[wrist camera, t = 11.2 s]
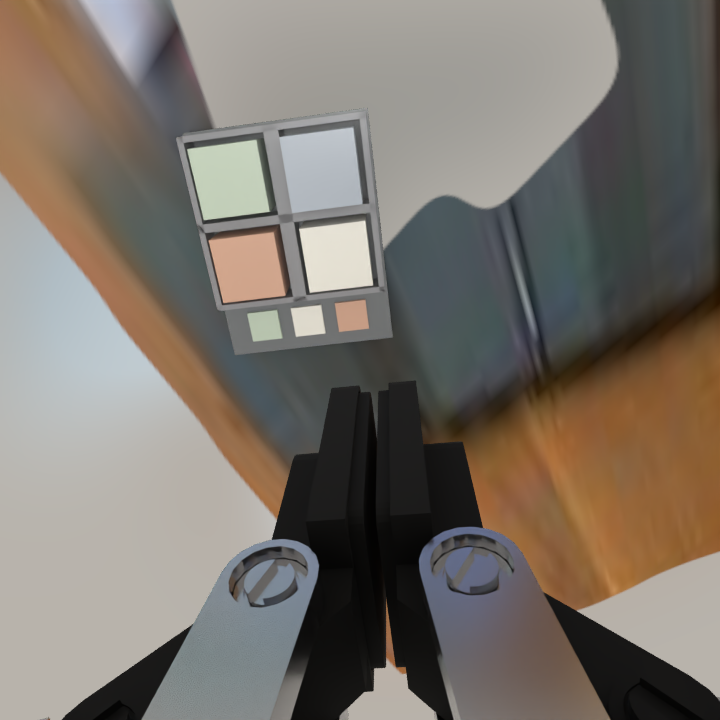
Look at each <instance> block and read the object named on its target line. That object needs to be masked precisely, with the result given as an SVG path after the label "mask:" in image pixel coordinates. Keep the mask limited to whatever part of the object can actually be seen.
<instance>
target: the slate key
mask: <svg viewBox="0 0 720 720" xmlns="http://www.w3.org/2000/svg"><path fill="white" fill-rule="evenodd" d="M279 139H280V145H281V151H282V157H283V163H284V168H285V174H286V180H287V186H288V192H289V198H290V203H291V209H292V213H297V212H305V211H313V210H321V209H329V208H336V207H344V206H352V205H360V204H363V194H362V186H361V177H360V169H359V161H358V152H357V144H356V135H355V127H354V126H352V127H345V128H337V129H330V130H323V131H315V132H308V133H300V134H293V135H286V136H282V137H279Z"/></svg>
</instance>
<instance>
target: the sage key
mask: <svg viewBox="0 0 720 720" xmlns="http://www.w3.org/2000/svg"><path fill="white" fill-rule="evenodd" d="M187 151H188V155H189V159H190V164H191V168H192V172H193V176H194V180H195V185H196V189H197V193H198V197H199V202H200V206H201V210H202V214H203V219H204V220H209V219H217V218H225V217H233V216H241V215H249V214H256V213H264V212H270V211H271V210H272V209H273V208H274V207H275V206H276V201H275V196H274V190H273V185H272V179H271V174H270V168H269V163H268V157H267V152H266V146H265V141H264V138H260V139H253V140H245V141H238V142H231V143H223V144H216V145H209V146H201V147H196V148H191V149H187Z"/></svg>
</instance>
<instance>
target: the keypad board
mask: <svg viewBox="0 0 720 720" xmlns="http://www.w3.org/2000/svg"><path fill="white" fill-rule="evenodd" d="M352 126H354V127H355V135H356V144H357V152H358V161H359V169H360V177H361V186H362V194H363V204H360V205H352V206H344V207H336V208H329V209H321V210H313V211H305V212H297V213H292V209H291V203H290V198H289V192H288V186H287V180H286V174H285V168H284V163H283V157H282V151H281V145H280V139H279V137H282V136H286V135H293V134H300V133H308V132H315V131H323V130H330V129H337V128H345V127H352ZM260 138H264V141H265V146H266V152H267V157H268V163H269V168H270V174H271V179H272V185H273V190H274V196H275V201H276V206H275V207H274V208H273V209H272V210H271V211H270V212H264V213H256V214H249V215H241V216H233V217H225V218H217V219H209V220H204V219H203V214H202V210H201V206H200V202H199V197H198V193H197V189H196V185H195V180H194V176H193V172H192V168H191V164H190V159H189V155H188V151H187V149H191V148H196V147H201V146H209V145H216V144H223V143H231V142H238V141H245V140H253V139H260ZM176 140H177V144H178V148H179V152H180V156H181V161H182V165H183V169H184V173H185V177H186V181H187V185H188V190H189V194H190V198H191V202H192V206H193V210H194V214H195V219H196V223H197V227H198V231H199V235H200V239H201V243H202V248H203V252H204V256H205V260H206V264H207V268H208V272H209V277H210V281H211V285H212V289H213V293H214V297H215V301H216V306H217V310H218V311H223V310H225V314H226V319H227V323H228V327H229V331H230V336H231V340H232V344H233V348H234V352H235V355H240V354H249V353H258V352H267V351H276V350H285V349H294V348H302V347H311V346H320V345H329V344H338V343H347V342H356V341H365V340H374V339H383V338H392V337H393V336H392V327H391V317H390V308H389V299H388V290H387V281H386V272H385V262H384V253H383V244H382V236H381V226H380V217H379V208H378V198H377V189H376V180H375V172H374V162H373V153H372V144H371V134H370V125H369V116H368V108H363V109H356V110H349V111H341V112H334V113H326V114H319V115H312V116H305V117H298V118H290V119H283V120H276V121H269V122H262V123H254V124H247V125H240V126H232V127H225V128H218V129H210V130H203V131H196V132H189V133H183V136H182V137H176ZM358 214H366V222H367V231H368V239H369V248H370V256H371V264H372V273H373V285H372V286H363V287H355V288H346V289H338V290H329V291H321V292H312V293H310V291H309V285H308V279H307V273H306V267H305V261H304V255H303V249H302V243H301V237H300V231H299V229H300V227H301V225H302V223H303V222H304V221H310V220H318V219H326V218H334V217H342V216H350V215H358ZM279 224H280V229H281V234H282V240H283V245H284V251H285V256H286V262H287V267H288V273H289V278H290V287H289V289H288V291H287V293H286V295H285V296H279V297H271V298H262V299H254V300H245V301H237V302H228V303H223V299H222V295H221V291H220V286H219V282H218V278H217V274H216V270H215V265H214V261H213V257H212V253H211V248H210V244H209V240H210V239H211V238H212V237H214V236H215V235H216V234H217V233H219V232H223V231H231V230H239V229H247V228H255V227H263V226H271V225H279Z"/></svg>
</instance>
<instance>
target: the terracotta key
mask: <svg viewBox="0 0 720 720" xmlns="http://www.w3.org/2000/svg"><path fill="white" fill-rule="evenodd" d="M209 244H210V248H211V253H212V257H213V261H214V265H215V270H216V274H217V278H218V282H219V286H220V291H221V295H222V299H223V303H228V302H237V301H245V300H254V299H262V298H271V297H279V296H285V295H286V293H287V291H288V289H289V287H290V278H289V273H288V267H287V262H286V256H285V251H284V245H283V240H282V234H281V229H280V224H279V225H271V226H263V227H255V228H247V229H239V230H231V231H223V232H219V233H217V234H216V235H215V236H214V237H212V238H211V239H210V240H209Z"/></svg>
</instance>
